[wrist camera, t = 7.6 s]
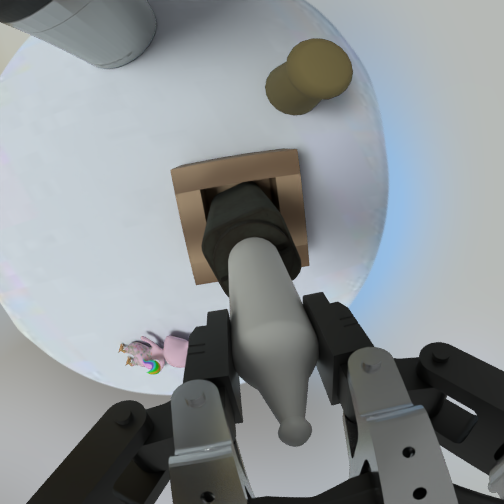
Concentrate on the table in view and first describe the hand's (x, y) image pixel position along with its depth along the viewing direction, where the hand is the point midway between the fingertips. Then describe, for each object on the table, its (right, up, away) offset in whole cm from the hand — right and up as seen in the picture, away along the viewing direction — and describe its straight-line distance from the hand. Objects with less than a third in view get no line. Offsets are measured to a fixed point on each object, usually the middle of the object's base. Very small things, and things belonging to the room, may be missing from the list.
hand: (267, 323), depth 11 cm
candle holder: (-2, +8, +21) cm, 22 cm away
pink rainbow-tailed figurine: (-11, -10, +27) cm, 31 cm away
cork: (+4, +20, +17) cm, 26 cm away
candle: (-2, +7, +19) cm, 20 cm away
